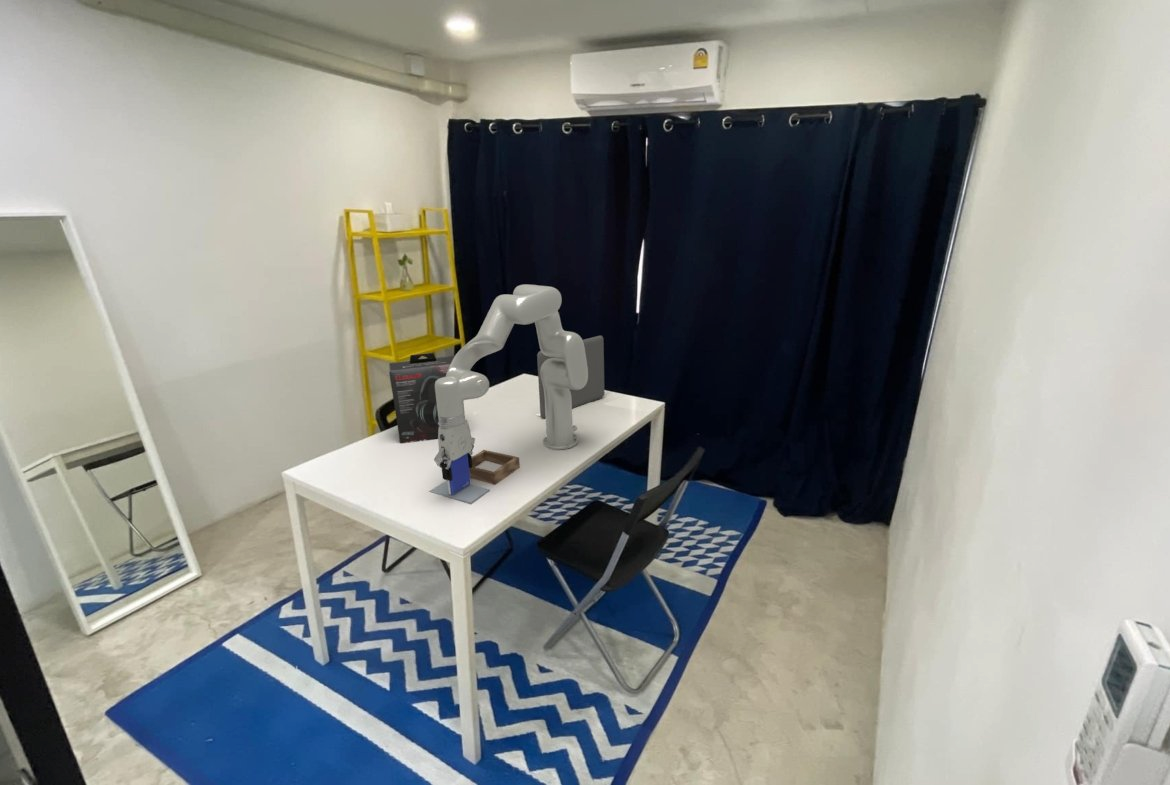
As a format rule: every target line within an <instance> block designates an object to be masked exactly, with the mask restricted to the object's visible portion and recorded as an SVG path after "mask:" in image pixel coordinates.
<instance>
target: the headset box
mask: <svg viewBox="0 0 1170 785" xmlns="http://www.w3.org/2000/svg"><path fill="white" fill-rule="evenodd" d="M422 356H423V358H421V357H422ZM454 357H455V355H449V356H440V357H436V355H435V353H434V352H427V353H418V354H410V357H409V360H405V361H397V362H396V361H395V362H389V363H388V373H389V374H388V375H389V381H390V386H391V393H392V398H393V399H392V400H393V406H394V412H395V417H396V418H395V419H396V423H397V424H396V425H397V432H398V438H399V443H400V444H409V443H417V442H418V443H419V442H425V441H432V440H433V441H435V440H438V430H439V427H440V426H439V425H438V422H439V418H438V410H437V401H436V393H435V382H436V381H437V380H438V379H440V378H443V377H446V374H447V371H448V369H449V367H450V364H451V362H452V360H453V358H454Z"/></svg>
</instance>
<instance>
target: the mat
mask: <svg viewBox="0 0 1170 785" xmlns="http://www.w3.org/2000/svg"><path fill="white" fill-rule="evenodd" d="M428 492H429V493H432V494H435V495H438V496H442V497H445V498H448V499H453V500H454V501H455V500H456V501H458V502H462V503H466V504H468V505H472V504H474V503H475V502H476V501H478V500H480V499H481V498H482V497H484V496H485V495H486V494H487V493H489V492H491V490H490V488H487V487H482V486H478V485H476V484H475V485H474V484H472V483H471V484H470V485H468V486H466V487H465V488H463V489H461V490H460V491H458V492H456V493H455V494H453V495H450V494H449V490H448V482H447V480H445V481H443V482H442V483H440V484H438V485H437V486H435V487H434V488H432V489H430V490H428Z"/></svg>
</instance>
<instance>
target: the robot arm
mask: <svg viewBox="0 0 1170 785" xmlns="http://www.w3.org/2000/svg"><path fill="white" fill-rule="evenodd" d="M562 300H563V299H562V294H561V292H560V291H559V289H557V288H555V287H553V286H548V285H537V284H526V283H525V284H520V285H517V286H516V287H515V288H514V290H513V292H512V294H508V293H507V294H500V295H498V296H496V297H495V299H494V300H493V302H492V304H491V306H490V309H489V310H488V311H487V314H486V316H485V318H484V320H483V323H482V325H481V326H480V329H479V331H478V333H477V334H476V335H475V337H473V338H472V339H471V340H469V341H468V342H467V343H466V344H465V345H464V346H462V348H460V349H459V350H458V351H457V353H456V354H455V355H454V356H455V357H454V358H453V360H452V362H451V364H450V367H449V369H448V371H447V374H446V377H443V378H440V379H438V380H437V381H436V382H435V393H436V401H437V410H438V418H439V422H438V425H439V426H440V427H439V430H438V439H437V441H438V442H437V444H438V452H437V454H436V455H435V457H434V458H433V461H434V463H436V465H437V466H438V467H439V468H440V469H441V474H442V479H443V480H445V481H446V480H448V481H451V480H452V470H451V468H449V467H450V464H451V461H455V460H457V459H458V458H460V457H462V456H463V455H465V454H468V463H469V468H472V467H473V466H472V457H473V456H472V455H473V454H474V453H473V450H474V449H475V446H474V445H475V442H476V438H475V437H472V433H471V430H470V425H469V423H468V420H467V419H466V413H465V412H466V411H465V403H464V402H465V401H468V400H474V399H479V398H481V397H483V396H485V395H486V394H487V392H488V391H489V389H490V381H489V379H488V377H487V376H486V375H485V374H482V373H479V372H476V371H472V370H471V369H472V368H473V366H474V365H475V364H476V362H478V361H479V360H480V359H482V358H484V357H486V356H488V355H491V354H493V353H496V352H499V351H501V350H502V349H503V348H504V346H505V344H506V342H507V339H508V338H509V335H510V334H511V331H512V329H513V327H514V325H515V324H516V325H524V326H525V325H530V324H534V325H535V328H536V335H537V339H538V340H537V341H538V345H539V349H540V351H541V352H542V353H543V354H544V355H545V356H548V357H553V358H550V359H547V360H546V361H545V362H544V363H543V364H542V366H541V370H540V374H541V380H542V383H543V388H544V396H545V415H546V418H545V428H546V429H545V430H546V431H545V433H546V436H545V437H544V438H543V439H542V445H543V447H545V448H546V449H550V450H555V451H556V450H557V451H560V450H567V449H568V450H569V449H571V448H574V447H575V446H576V445H577V444H578V437H576V435H575V436H574V432H576V431H577V430H578V426H577V425H573V408H572V398H571V393H570V390H569V389H572V390H580V389H582V388H583V387H584V386H585V385H586V383H587V380H588V367H587V360H586V354H585V347H584V343H583V340H584V339H583V338H582V337H581V335H579V333H576V332H574V331H569V330H568V331H567V330H564V329H563V326H562V322H561V321H562V320H561V317H560V312H559V311H558V310H560V307H561V305H562V303H563V302H562ZM445 455H446V456H447V457H444V456H445ZM445 460H447V463H446V464H445Z"/></svg>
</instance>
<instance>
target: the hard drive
mask: <svg viewBox="0 0 1170 785" xmlns="http://www.w3.org/2000/svg"><path fill="white" fill-rule="evenodd" d="M444 457H447V456H446V455H445V456H444ZM446 463H447V460H445V464H446ZM449 468H451V470H452V480H451V481H448V480H447V482H448V490H449V494H450V495H453V494H455V493H456V492H458V491H460V490H461V489H463V488H465V487H466V486H468V485H470V484H471V485H472V483H471V482H472V481H471V478H470V473H469V463H468V454H465V455H463V456H462V457H460V458H458V459H457V460H455V461H451V464H450V467H449Z"/></svg>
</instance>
